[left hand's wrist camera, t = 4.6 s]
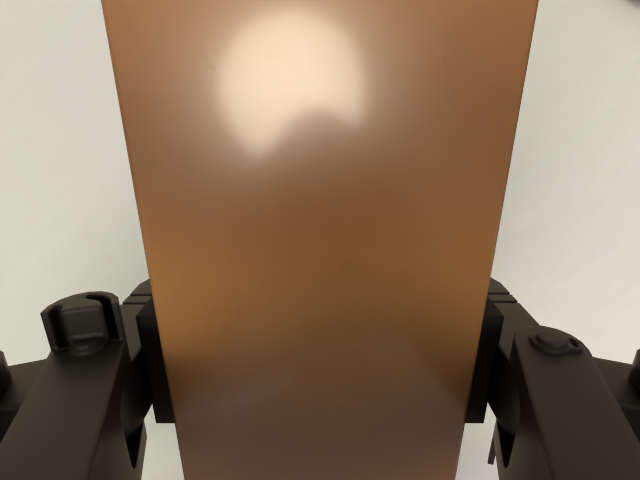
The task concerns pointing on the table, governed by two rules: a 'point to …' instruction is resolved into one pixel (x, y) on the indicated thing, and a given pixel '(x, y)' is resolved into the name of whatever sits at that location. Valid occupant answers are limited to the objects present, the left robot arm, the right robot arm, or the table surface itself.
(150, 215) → the bar
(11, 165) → the table surface
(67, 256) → the table surface
